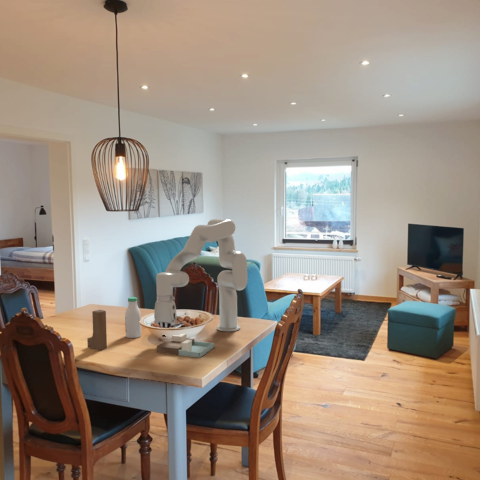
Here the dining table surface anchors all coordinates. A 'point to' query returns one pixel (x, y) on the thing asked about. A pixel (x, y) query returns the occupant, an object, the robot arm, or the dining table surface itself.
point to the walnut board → (171, 346)
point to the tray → (197, 349)
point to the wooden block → (98, 331)
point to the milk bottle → (132, 319)
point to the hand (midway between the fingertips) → (165, 336)
